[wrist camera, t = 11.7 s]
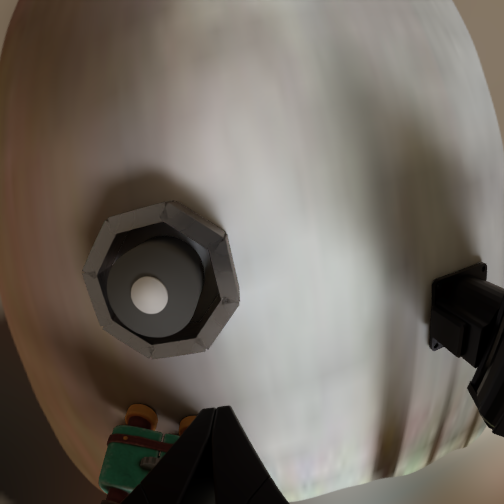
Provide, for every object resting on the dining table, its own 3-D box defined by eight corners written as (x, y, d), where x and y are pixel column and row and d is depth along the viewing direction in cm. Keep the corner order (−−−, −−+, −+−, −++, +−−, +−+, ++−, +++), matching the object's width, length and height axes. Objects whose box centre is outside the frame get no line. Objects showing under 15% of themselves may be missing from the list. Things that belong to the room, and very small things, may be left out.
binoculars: (104, 533, 13) (72, 493, 10) (127, 451, 23) (117, 388, 20) (209, 556, 13) (223, 530, 11) (213, 469, 24) (227, 411, 21)
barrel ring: (217, 190, 18) (214, 189, 15) (248, 325, 19) (250, 343, 17) (88, 224, 18) (70, 229, 15) (127, 345, 19) (115, 363, 17)
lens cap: (194, 227, 18) (181, 238, 14) (212, 302, 19) (207, 331, 15) (122, 245, 18) (94, 259, 14) (143, 315, 19) (123, 344, 15)
